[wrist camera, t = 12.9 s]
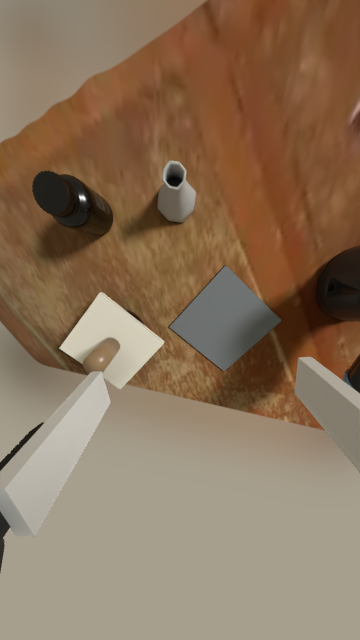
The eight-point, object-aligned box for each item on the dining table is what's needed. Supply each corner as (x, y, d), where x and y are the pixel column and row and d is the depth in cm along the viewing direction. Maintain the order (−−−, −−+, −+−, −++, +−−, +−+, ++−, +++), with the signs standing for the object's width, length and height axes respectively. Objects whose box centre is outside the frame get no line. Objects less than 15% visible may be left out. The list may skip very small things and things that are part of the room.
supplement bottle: (78, 192, 32) (19, 152, 20) (115, 199, 32) (78, 164, 21) (78, 232, 34) (26, 217, 23) (113, 239, 34) (78, 227, 23)
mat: (280, 320, 39) (281, 320, 39) (223, 370, 43) (224, 371, 43) (225, 265, 35) (225, 265, 35) (169, 326, 40) (169, 327, 39)
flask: (185, 230, 34) (186, 217, 24) (151, 211, 33) (138, 190, 23) (203, 190, 31) (211, 159, 22) (167, 169, 31) (160, 127, 21)
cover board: (164, 341, 35) (159, 362, 27) (121, 386, 38) (106, 416, 31) (101, 291, 32) (77, 300, 24) (61, 346, 35) (29, 368, 28)
